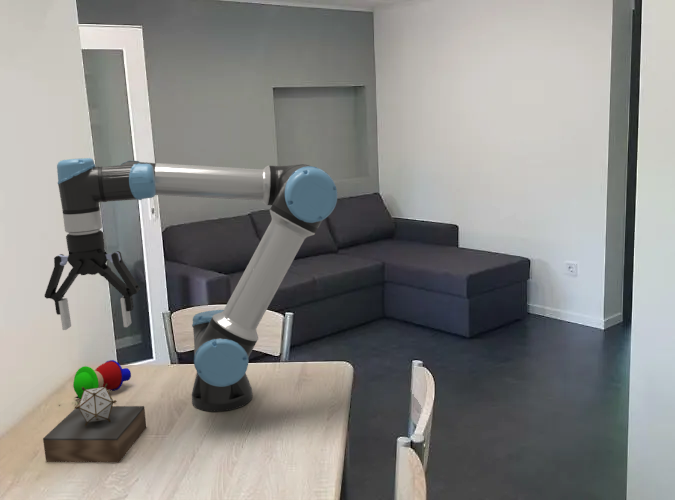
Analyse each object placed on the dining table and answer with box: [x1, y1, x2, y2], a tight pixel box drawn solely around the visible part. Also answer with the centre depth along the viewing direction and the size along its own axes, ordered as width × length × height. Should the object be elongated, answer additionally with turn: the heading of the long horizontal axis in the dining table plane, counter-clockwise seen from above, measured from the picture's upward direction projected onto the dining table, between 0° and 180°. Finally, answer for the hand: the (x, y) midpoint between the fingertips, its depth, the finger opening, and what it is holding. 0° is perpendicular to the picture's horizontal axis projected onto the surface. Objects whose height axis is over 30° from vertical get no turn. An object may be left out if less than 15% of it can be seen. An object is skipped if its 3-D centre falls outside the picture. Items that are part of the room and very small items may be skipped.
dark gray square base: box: [42, 405, 147, 463], centre depth 149 cm, size 16×16×5 cm
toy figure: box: [72, 359, 132, 400], centre depth 177 cm, size 9×10×15 cm
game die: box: [74, 384, 117, 426], centre depth 148 cm, size 9×8×10 cm
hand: (97, 326), depth 148 cm, fingers open, 13 cm apart
